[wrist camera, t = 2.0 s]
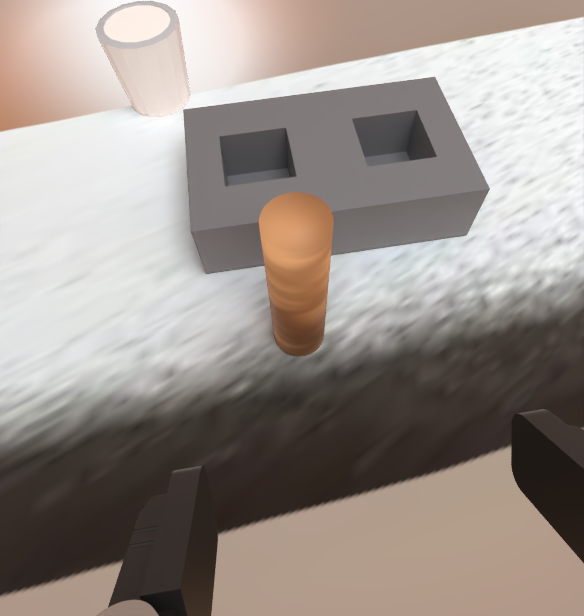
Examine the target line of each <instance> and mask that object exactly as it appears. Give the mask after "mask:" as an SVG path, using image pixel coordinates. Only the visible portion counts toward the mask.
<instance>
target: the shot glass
mask: <svg viewBox="0 0 584 616" xmlns="http://www.w3.org/2000/svg"><path fill="white" fill-rule="evenodd" d="M96 33H97V36H98V39H99V41H100V43H101V45H102V47H103V49H104V51H105V53H106V55H107V57H108V58H109V60H110V63H111V65H112V67H113V69H114V70H115V72H116V74H117V76H118V78H119V80H120V82H121V84H122V86H123V88H124V90H125V92H126V94H127V96H128V98H129V100H130V102H131V104H132V106H133V108H134V109H135V110H136V111H138V112H139V113H140V114H143V115H146V116H149V117H163V116H166V115H170V114H173V113H175V112H177V111H179V110H180V109H182V108H183V107H184V106H185V105H186V103H187V102H188V101H189V96H190V90H189V83H188V76H187V70H186V63H185V57H184V50H183V44H182V37H181V31H180V24H179V19H178V16H177V14H176V12H175V10H173V9H172V8H171V7H169V6H168V5H166V4H162V3H158V2H154V1H137V2H133V3H128V4H124V5H121V6H119V7H117V8H115V9H112V10H110V11H109V12H107V14H105V15H104V16H103V17H102V18H101V19H100V20H99V22H98V24H97V27H96Z"/></svg>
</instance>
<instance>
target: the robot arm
mask: <svg viewBox="0 0 584 616" xmlns="http://www.w3.org/2000/svg"><path fill="white" fill-rule="evenodd" d="M511 463H512V464H511V465H512V472H513V475H514V478H515V481H516V483H517V485H518V487H519V488H520V490H521V491H522V492H523V493H524V495H525V496H526V497H527V498H528V499H529V500H530V501H531V503H532V504H533V505H534V506H535V507H536V508H537V510H538V511H539V512H540V513H541V514H542V515H543V517H544V518H545V519H546V520H547V521H548V522H549V524H550V525H551V526H552V527H553V528H554V529H555V530H556V532H557V533H558V534H559V535H560V536H561V537H562V538H563V540H564V541H565V542H566V543H567V544H568V545H569V547H570V548H571V549H572V550H573V551H574V552H575V554H576V555H577V556H578V557H579V558H580V559H581V560H582V562H583V563H584V430H583V429H580V428H578V427H576V426H573V425H569V426H568V425H567V424H565V423H564V422H563V421H562V420H560V419H559V418H558V417H556V416H555V415H554V414H553V413H551V412H550V411H548V410H546V409H541V410H536V411H530V412H524V413H518V414H515V415H514V416H513V418H512V462H511ZM217 543H218V532H217V521H216V515H215V511H214V506H213V501H212V497H211V492H210V488H209V483H208V479H207V474H206V471H205V468H204V466H198V467H193V468H187V469H181V470H175V471H173V473H172V475H171V479H170V483H169V487H168V491H167V493H165V494H159V495H153V496H152V498H151V499H150V500H149V501H148V502H147V504H146V505H145V506H144V507H143V509H142V510H141V511H140V512H139V515H138V518H137V521H136V524H135V527H134V533H133V534H132V537H131V540H130V543H129V549H127V552H126V555H125V558H124V561H123V564H122V567H121V570H120V573H119V576H118V579H117V582H116V585H115V588H114V592H113V594H112V597H111V600H110V603H109V606H108V608H107V609H105V610H104V611H103V612H101V613H100V614H98V615H97V616H211V611H212V599H213V588H214V577H215V566H216V555H217Z"/></svg>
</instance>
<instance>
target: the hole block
mask: <svg viewBox="0 0 584 616" xmlns="http://www.w3.org/2000/svg"><path fill="white" fill-rule="evenodd" d="M183 111H184V127H185V143H186V158H187V174H188V189H189V205H190V220H191V233H192V235H193V238H194V241H195V244H196V246H197V249H198V252H199V255H200V257H201V260H202V263H203V266H204V268H205V271H206V274H208V273H214V272H221V271H228V270H235V269H241V268H248V267H255V266H262V265H265V264H264V257H263V250H262V243H261V236H260V229H259V217H260V213H261V211H262V209H263V208H264V206H265V205H266V204H267V203H268V202H269V201H271V200H272V199H274V198H275V197H277V196H280V195H282V194H286V193H292V192H302V193H308V194H311V195H314V196H316V197H318V198H320V199H321V200H323V201H324V202H325V203H326V204H327V205H328V206H329V208H330V210H331V211H332V214H333V219H334V224H333V235H332V247H331V255H336V254H343V253H349V252H356V251H363V250H370V249H376V248H383V247H390V246H396V245H403V244H410V243H417V242H423V241H430V240H437V239H444V238H450V237H457V236H464V235H467V233H468V231H469V229H470V227H471V225H472V223H473V221H474V219H475V217H476V215H477V213H478V211H479V209H480V207H481V205H482V203H483V201H484V199H485V197H486V195H487V193H488V191H489V189H490V188H489V186H488V184H487V182H486V180H485V178H484V176H483V174H482V172H481V170H480V168H479V166H478V164H477V162H476V160H475V158H474V156H473V154H472V152H471V150H470V148H469V146H468V144H467V142H466V140H465V137H464V135H463V133H462V131H461V129H460V127H459V125H458V123H457V121H456V119H455V117H454V115H453V113H452V111H451V109H450V107H449V105H448V103H447V101H446V99H445V97H444V95H443V93H442V91H441V89H440V87H439V84H438V82H437V80H436V78H435V77H430V78H423V79H415V80H407V81H400V82H392V83H384V84H377V85H369V86H361V87H354V88H346V89H338V90H331V91H323V92H315V93H308V94H300V95H292V96H285V97H277V98H269V99H262V100H254V101H246V102H239V103H231V104H223V105H216V106H208V107H200V108H193V109H185V110H183Z"/></svg>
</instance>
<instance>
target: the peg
mask: <svg viewBox="0 0 584 616" xmlns="http://www.w3.org/2000/svg"><path fill="white" fill-rule="evenodd" d="M333 224H334V219H333V214H332V211H331V210H330V208H329V206H328V205H327V204H326V203H325V202H324V201H323V200H321V199H320V198H318V197H316V196H314V195H311V194H308V193H302V192H292V193H286V194H282V195H280V196H277V197H275V198H274V199H272V200H271V201H269V202H268V203H267V204H266V205H265V206H264V208H263V209H262V211H261V213H260V217H259V229H260V236H261V243H262V250H263V257H264V264H265V272H266V279H267V286H268V293H269V300H270V307H271V314H272V322H273V329H274V336H275V340H276V343H277V345H278V346H279V348H280V349H281V350H283V351H284V352H285V353H287V354H290V355H293V356H305V355H308V354H311V353H313V352H314V351H316V350H317V349H318V348H319V346H320V345H321V343H322V341H323V337H324V327H325V316H326V304H327V293H328V281H329V270H330V258H331V247H332V235H333Z"/></svg>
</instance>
